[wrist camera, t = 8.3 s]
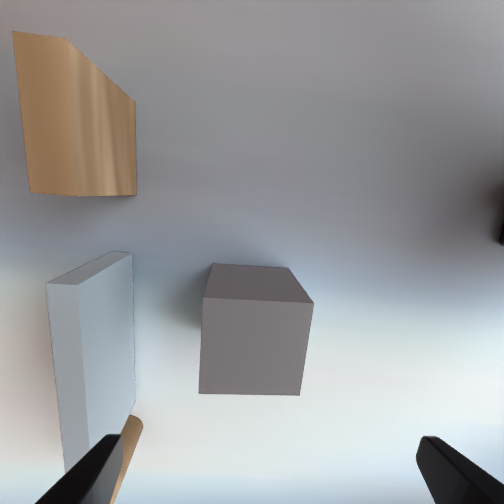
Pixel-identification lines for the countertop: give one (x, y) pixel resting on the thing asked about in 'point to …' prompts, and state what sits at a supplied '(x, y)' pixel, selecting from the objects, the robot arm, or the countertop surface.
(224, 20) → the countertop surface
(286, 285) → the block
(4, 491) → the countertop surface
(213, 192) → the countertop surface
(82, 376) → the door
